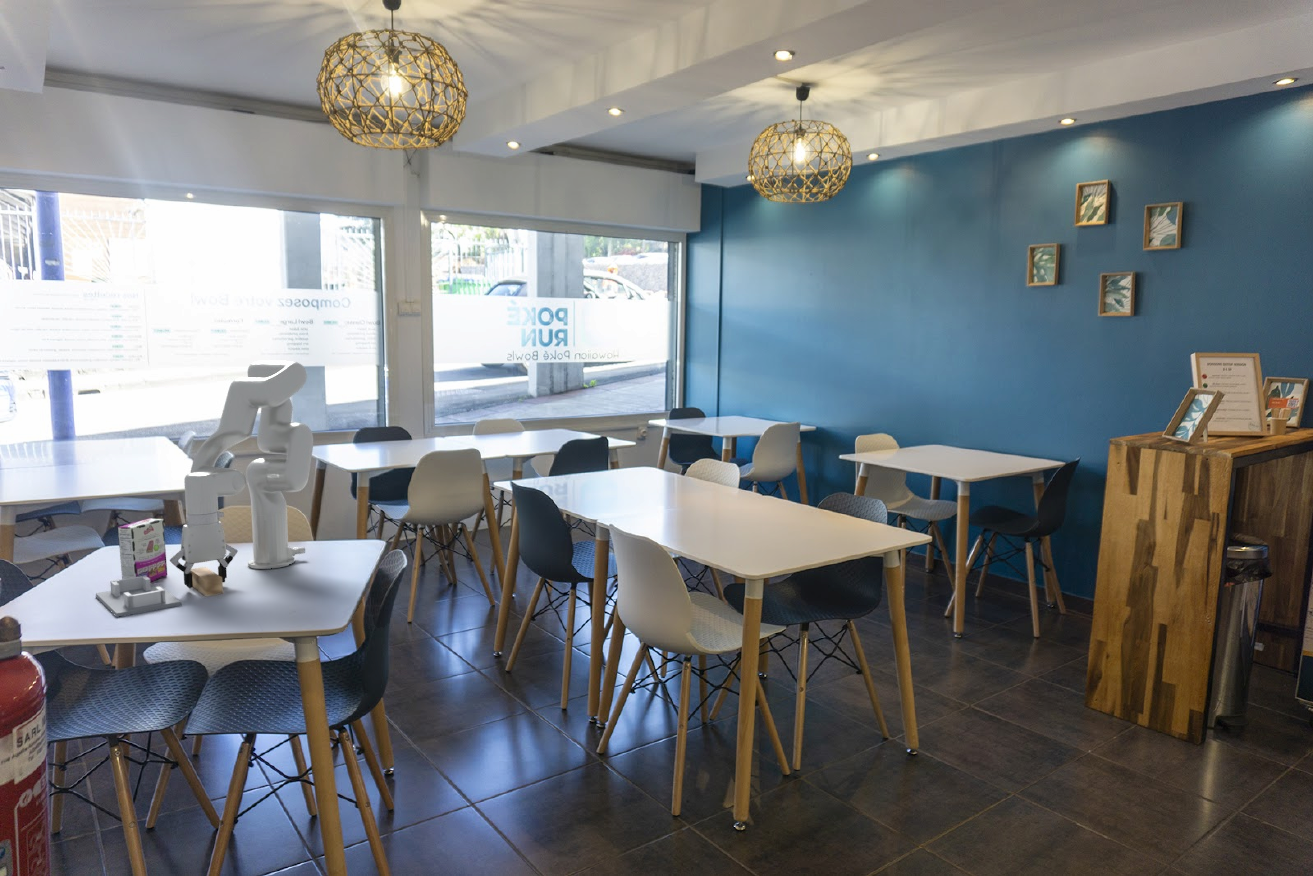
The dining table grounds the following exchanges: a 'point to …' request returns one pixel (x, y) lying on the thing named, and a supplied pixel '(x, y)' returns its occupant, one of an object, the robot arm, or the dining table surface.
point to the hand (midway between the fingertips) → (205, 583)
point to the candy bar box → (143, 549)
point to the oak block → (207, 581)
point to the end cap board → (136, 596)
